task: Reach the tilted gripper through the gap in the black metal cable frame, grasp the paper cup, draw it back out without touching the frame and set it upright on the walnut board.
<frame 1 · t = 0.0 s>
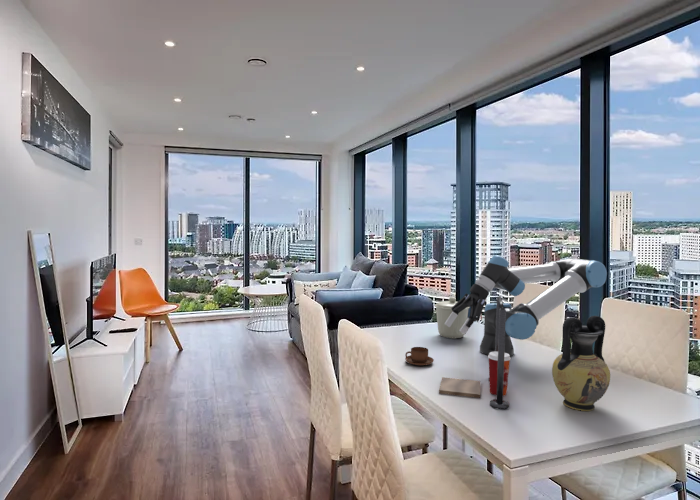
hand: (454, 329, 191), 15 cm above the table, tool tilted 35°, fingers open, 13 cm apart
cup and saucer: (419, 363, 194), on the table
cable frame: (498, 392, 160), on the table
amphora: (579, 406, 149), on the table
paper cup: (498, 393, 160), on the table
walnut board: (460, 388, 164), on the table
canister: (451, 336, 241), on the table
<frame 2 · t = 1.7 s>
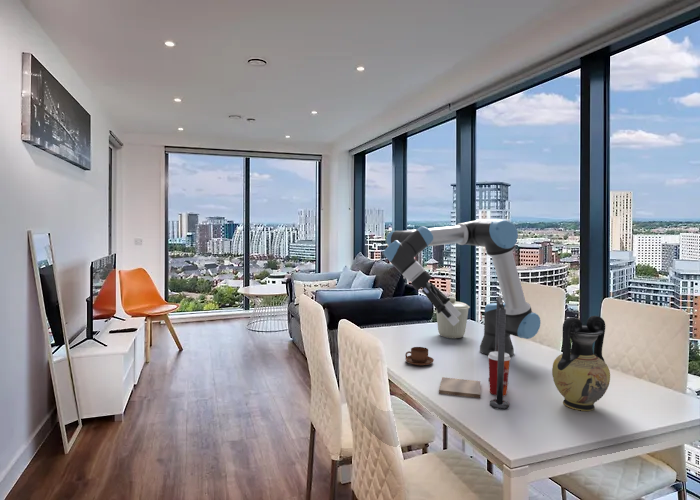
hand: (457, 319, 164), 25 cm above the table, tool tilted 45°, fingers open, 13 cm apart
nothing on the table moved.
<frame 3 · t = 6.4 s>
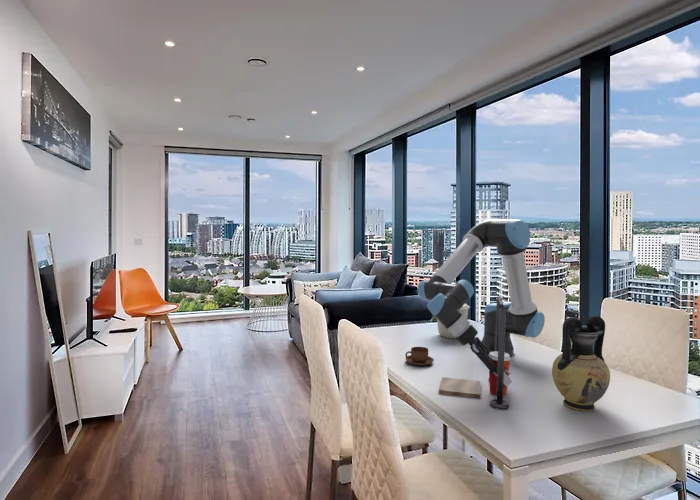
hand: (508, 379, 159), 5 cm above the table, tool tilted 45°, fingers closed on paper cup, 8 cm apart
paper cup: (498, 393, 160), on the table, touching gripper
everything else where it was.
when the fingers open (8 cm above the table, at t = 12.9 s): paper cup drops 2 cm, resting on walnut board.
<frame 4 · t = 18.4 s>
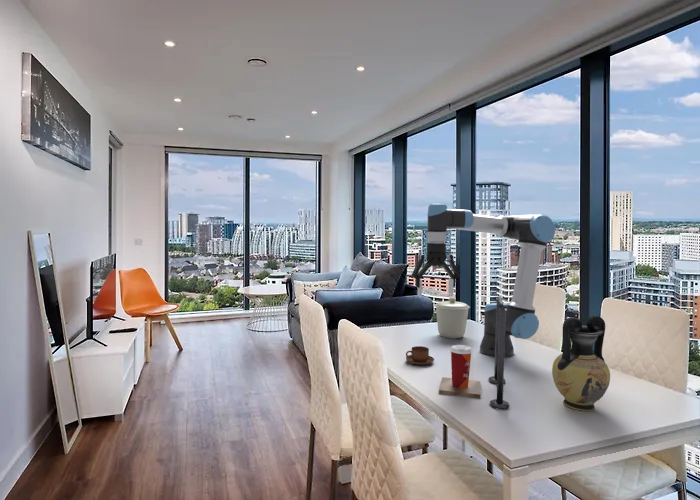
hand: (435, 295, 182), 31 cm above the table, tool pointing down, fingers open, 13 cm apart
paper cup: (460, 385, 164), point 1 cm above the table, touching walnut board
at the end: paper cup inside the target area on the walnut board (0.1 cm from its centre), point 1.0 cm above the walnut board's base; paper cup tilted 0°; paper cup touching walnut board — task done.
